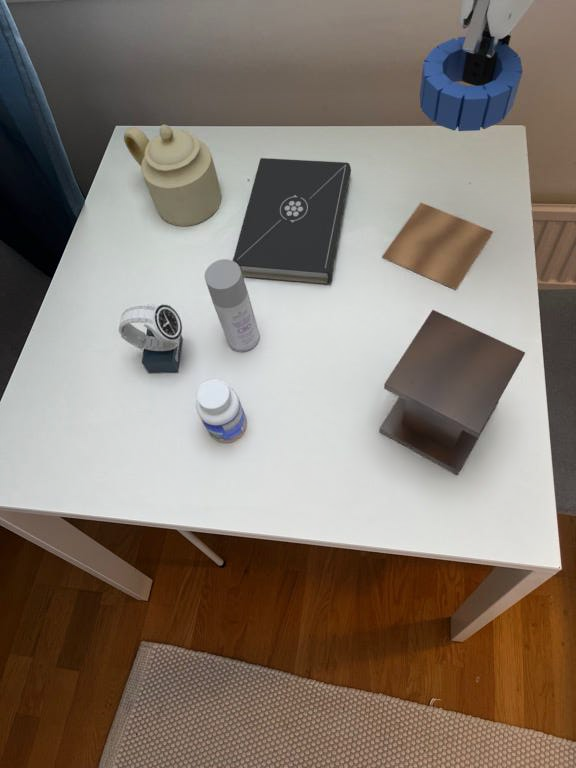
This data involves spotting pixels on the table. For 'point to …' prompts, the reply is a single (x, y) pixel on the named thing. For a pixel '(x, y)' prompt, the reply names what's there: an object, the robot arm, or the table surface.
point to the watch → (155, 336)
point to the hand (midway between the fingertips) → (482, 74)
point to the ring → (467, 88)
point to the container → (232, 304)
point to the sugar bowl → (177, 174)
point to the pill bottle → (220, 410)
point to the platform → (447, 389)
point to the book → (293, 220)
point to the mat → (438, 245)
